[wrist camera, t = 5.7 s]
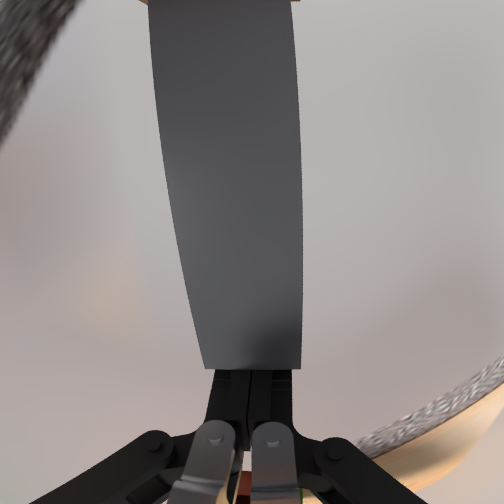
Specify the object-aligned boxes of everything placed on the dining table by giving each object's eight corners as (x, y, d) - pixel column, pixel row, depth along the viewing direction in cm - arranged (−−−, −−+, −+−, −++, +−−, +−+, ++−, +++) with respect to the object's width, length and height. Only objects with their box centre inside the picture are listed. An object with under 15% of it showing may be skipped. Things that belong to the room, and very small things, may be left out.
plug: (309, 316, 13) (318, 414, 9) (206, 317, 14) (179, 411, 9) (285, -104, 6) (286, -184, 1) (162, -88, 6) (106, -151, 2)
